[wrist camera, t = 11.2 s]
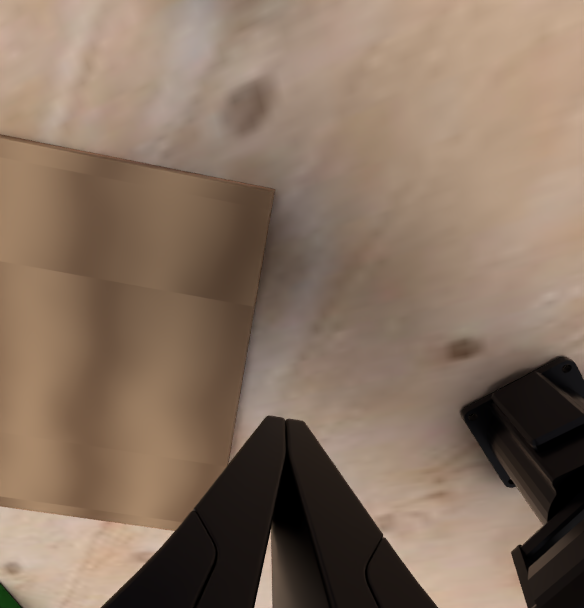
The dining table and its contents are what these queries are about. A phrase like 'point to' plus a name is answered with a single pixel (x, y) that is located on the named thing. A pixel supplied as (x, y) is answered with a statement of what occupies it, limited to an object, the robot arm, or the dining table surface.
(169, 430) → the tray
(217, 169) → the dining table surface
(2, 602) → the milk carton
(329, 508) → the robot arm
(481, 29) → the dining table surface
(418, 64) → the dining table surface
